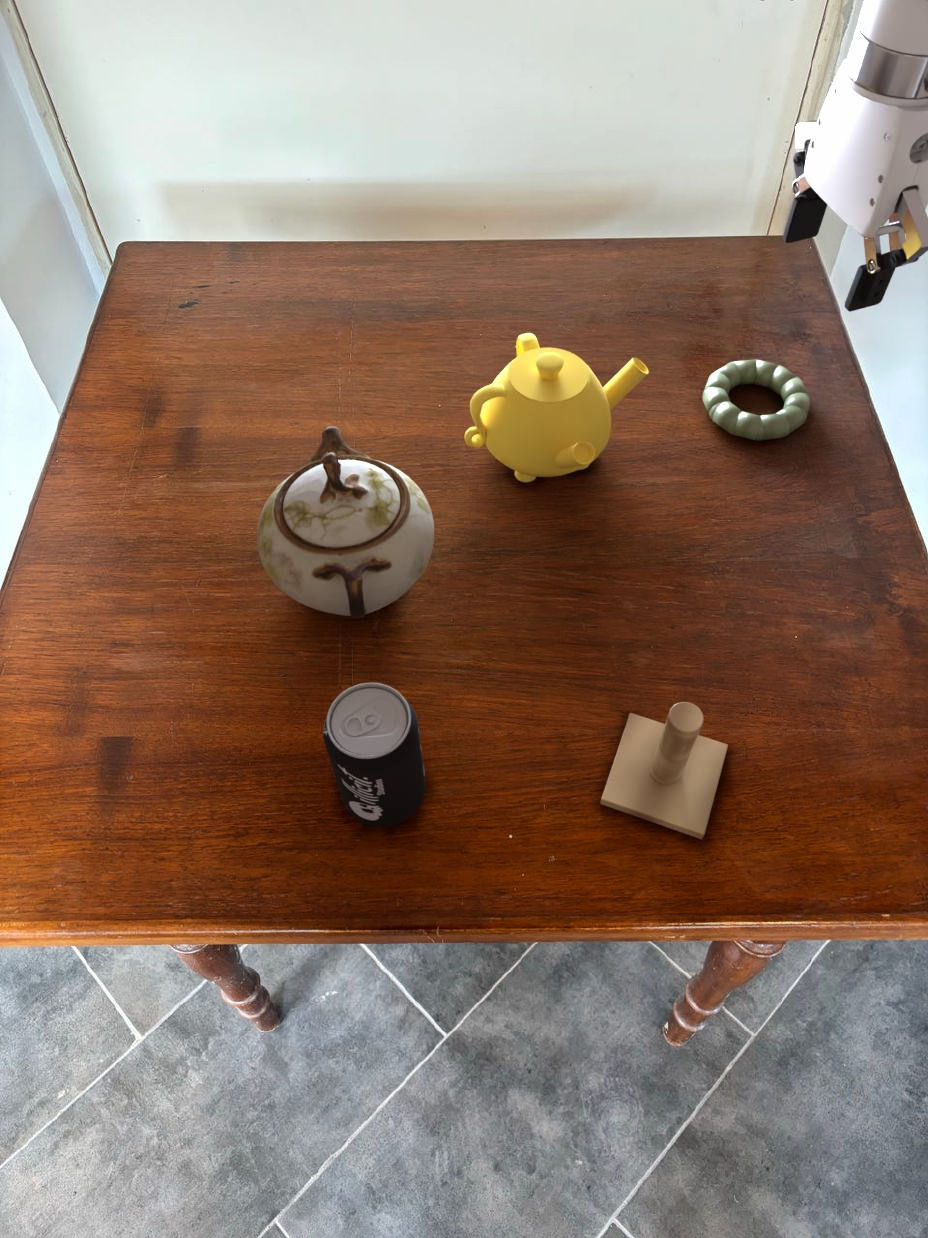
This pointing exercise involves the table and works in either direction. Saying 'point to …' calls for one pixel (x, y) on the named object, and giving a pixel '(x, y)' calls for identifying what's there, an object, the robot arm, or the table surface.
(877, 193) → the robot arm
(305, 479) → the sugar bowl
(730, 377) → the ring
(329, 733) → the beverage can
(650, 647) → the table surface
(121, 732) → the table surface
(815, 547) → the table surface
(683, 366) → the table surface
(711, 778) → the square base peg stand
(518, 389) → the teapot
